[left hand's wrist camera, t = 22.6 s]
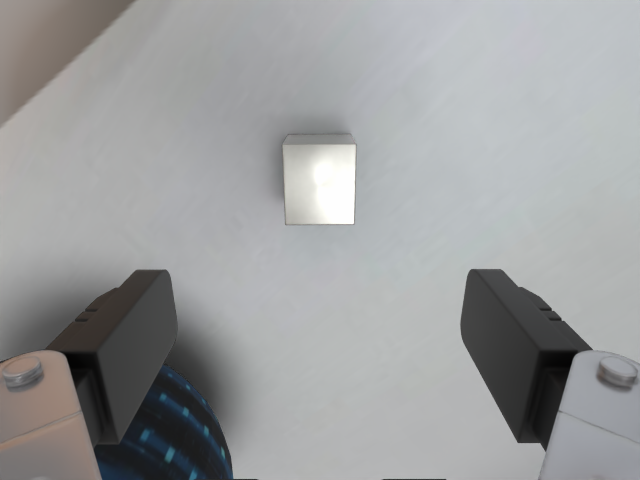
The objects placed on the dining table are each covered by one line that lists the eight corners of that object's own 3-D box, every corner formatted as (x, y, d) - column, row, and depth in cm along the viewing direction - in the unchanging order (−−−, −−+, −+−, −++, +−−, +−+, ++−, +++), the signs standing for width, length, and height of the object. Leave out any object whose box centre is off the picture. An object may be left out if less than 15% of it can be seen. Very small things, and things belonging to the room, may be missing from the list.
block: (289, 204, 28) (285, 225, 24) (287, 134, 26) (281, 144, 22) (349, 204, 28) (354, 224, 24) (351, 133, 26) (356, 143, 22)
